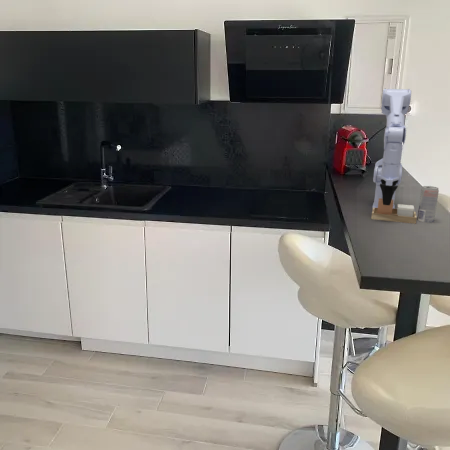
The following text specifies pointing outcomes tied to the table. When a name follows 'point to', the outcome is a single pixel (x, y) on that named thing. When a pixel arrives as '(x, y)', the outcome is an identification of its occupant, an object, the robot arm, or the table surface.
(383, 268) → the table surface
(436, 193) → the energy drink
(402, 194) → the table surface
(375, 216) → the light wooden tray
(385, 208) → the brown cardboard box
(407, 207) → the white foam cube
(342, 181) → the table surface
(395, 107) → the robot arm
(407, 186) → the table surface
